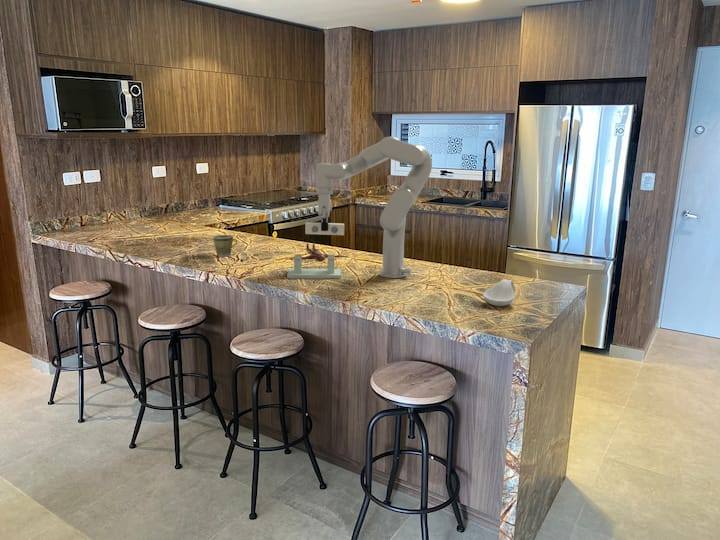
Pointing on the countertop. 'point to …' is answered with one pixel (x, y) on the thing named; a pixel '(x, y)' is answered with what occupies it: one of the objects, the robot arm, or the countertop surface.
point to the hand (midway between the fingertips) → (324, 229)
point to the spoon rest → (500, 293)
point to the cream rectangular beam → (332, 230)
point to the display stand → (313, 273)
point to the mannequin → (317, 254)
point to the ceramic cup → (223, 245)
